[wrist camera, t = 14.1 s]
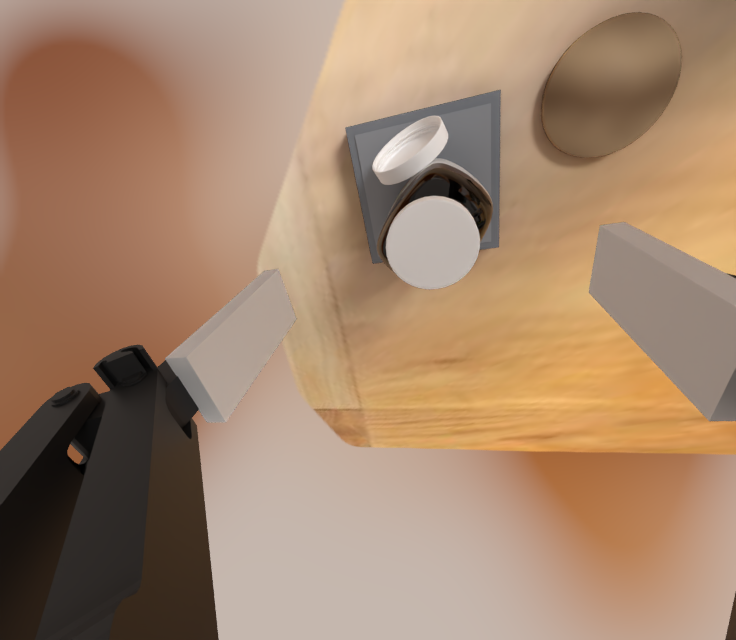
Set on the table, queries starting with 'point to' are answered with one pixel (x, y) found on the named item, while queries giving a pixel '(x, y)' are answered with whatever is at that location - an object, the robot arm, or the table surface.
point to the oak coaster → (611, 85)
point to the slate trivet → (464, 147)
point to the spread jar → (430, 209)
